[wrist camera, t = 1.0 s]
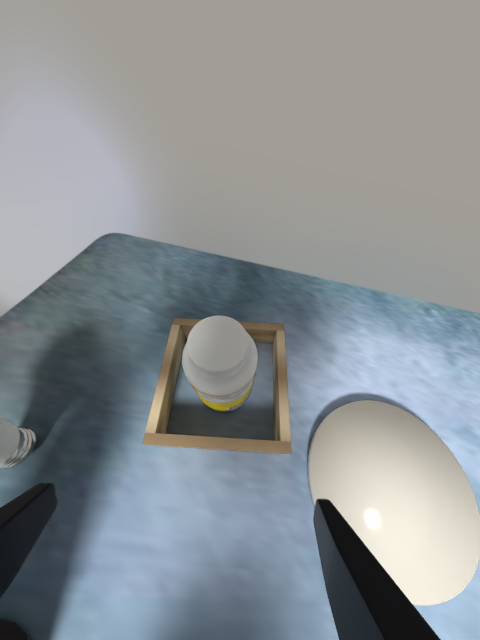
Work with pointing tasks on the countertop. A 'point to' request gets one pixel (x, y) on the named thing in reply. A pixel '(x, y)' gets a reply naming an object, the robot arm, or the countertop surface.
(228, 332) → the supplement bottle
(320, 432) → the plate
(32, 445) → the light bulb
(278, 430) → the bin frame
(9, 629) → the vinegar
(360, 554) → the robot arm
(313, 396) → the countertop surface
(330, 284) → the countertop surface
